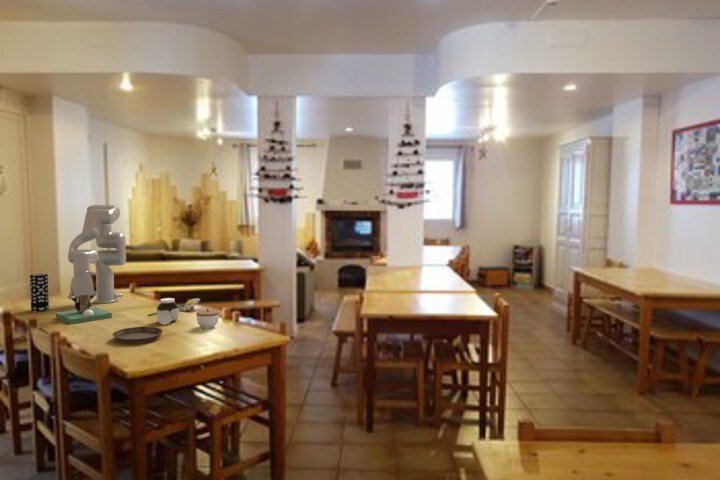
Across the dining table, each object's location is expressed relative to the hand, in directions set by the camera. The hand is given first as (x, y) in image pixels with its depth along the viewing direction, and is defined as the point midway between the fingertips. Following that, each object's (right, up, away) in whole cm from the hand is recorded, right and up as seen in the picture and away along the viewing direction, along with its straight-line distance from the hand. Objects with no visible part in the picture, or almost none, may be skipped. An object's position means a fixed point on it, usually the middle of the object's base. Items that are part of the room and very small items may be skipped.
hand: (82, 308), depth 259 cm
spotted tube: (-32, -3, +14) cm, 35 cm away
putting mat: (+1, -5, -1) cm, 5 cm away
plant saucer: (+47, -9, -38) cm, 61 cm away
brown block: (0, -1, 0) cm, 1 cm away
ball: (+5, -2, -4) cm, 7 cm away
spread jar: (+48, -6, -8) cm, 49 cm away
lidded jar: (+71, -7, -16) cm, 73 cm away
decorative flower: (+42, -4, +16) cm, 45 cm away
